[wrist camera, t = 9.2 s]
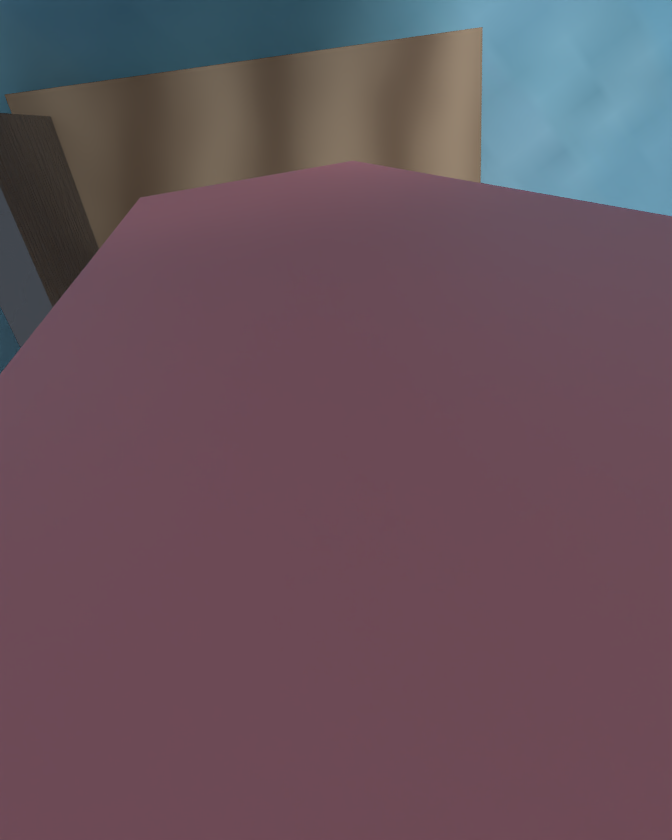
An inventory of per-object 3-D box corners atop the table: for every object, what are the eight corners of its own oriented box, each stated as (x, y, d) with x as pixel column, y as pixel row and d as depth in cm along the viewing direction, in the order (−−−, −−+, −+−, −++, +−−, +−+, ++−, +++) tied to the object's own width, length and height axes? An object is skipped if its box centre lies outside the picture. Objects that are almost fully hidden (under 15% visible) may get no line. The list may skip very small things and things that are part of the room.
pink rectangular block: (353, 161, 12) (1766, 407, 1) (392, 532, 18) (692, 1129, 7) (140, 197, 12) (-860, 1452, 1) (254, 571, 18) (358, 1293, 7)
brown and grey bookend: (464, 33, 27) (630, -24, 16) (464, 351, 36) (571, 440, 26) (17, 96, 24) (-113, 75, 14) (144, 425, 33) (124, 559, 23)
